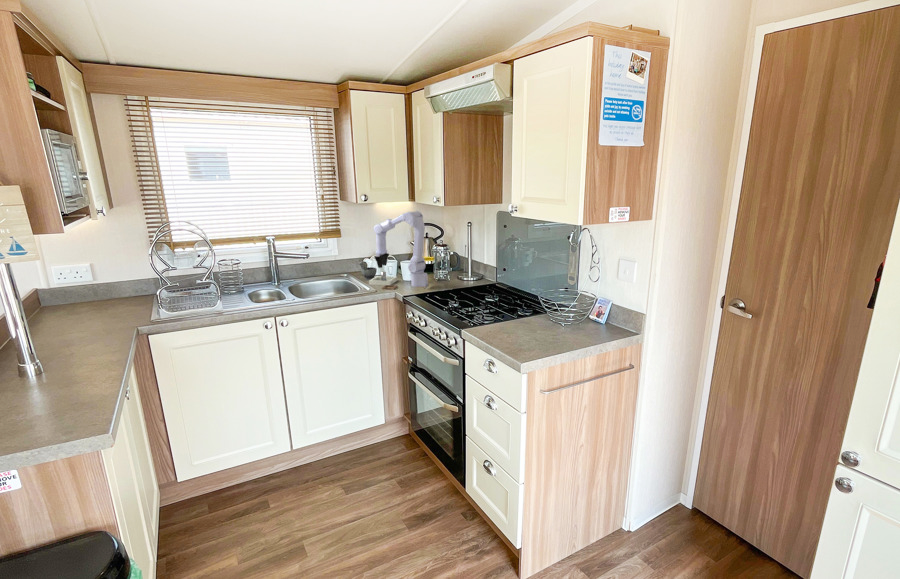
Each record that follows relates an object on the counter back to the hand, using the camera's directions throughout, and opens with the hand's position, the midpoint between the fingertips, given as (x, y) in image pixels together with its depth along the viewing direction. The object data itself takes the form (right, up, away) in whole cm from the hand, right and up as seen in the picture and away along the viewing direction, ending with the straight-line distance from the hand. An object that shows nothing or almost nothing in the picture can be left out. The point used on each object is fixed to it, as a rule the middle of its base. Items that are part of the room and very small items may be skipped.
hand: (382, 266), depth 269 cm
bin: (+1, -11, -1) cm, 11 cm away
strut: (+1, -10, -1) cm, 10 cm away
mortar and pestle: (-11, -8, +15) cm, 20 cm away
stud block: (+7, -14, -16) cm, 22 cm away
